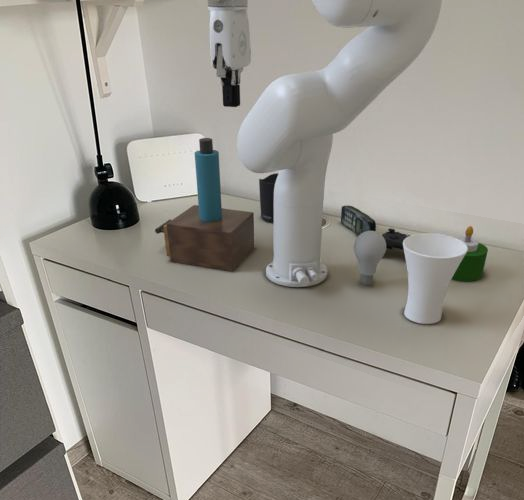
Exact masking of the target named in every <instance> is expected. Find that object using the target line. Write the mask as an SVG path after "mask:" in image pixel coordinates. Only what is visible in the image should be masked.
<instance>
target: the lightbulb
mask: <svg viewBox="0 0 524 500" xmlns="http://www.w3.org/2000/svg"><path fill="white" fill-rule="evenodd" d="M353 252H354V254H355V257H356V259H357V262H358V267H359V282H360V283H361V284H363V285H364V286H368V285H370V284H372V283H373V281H374V276H375V274H376V271H377V268H378V265H379V263H380V261H381V260H382V258H383V257H384V255H385V254H386V252H387V249H386V241H385V239H384V237H383V236H382V234H381V233H380V232H378V231H376V232H375V231H366V232H363V233H361V234H360V235H359V236H358V235H357V237H356V238H355V240H354V243H353Z"/></svg>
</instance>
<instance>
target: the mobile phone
mask: <svg viewBox="0 0 524 500" xmlns="http://www.w3.org/2000/svg"><path fill="white" fill-rule="evenodd" d="M340 211H341V213H340V215H341V216H340V222H341V224H342V225H343V226H345V227H346V228H347V229H349V230H351V231H352V232H353V233H355V234H356V235H357V237H358V236H359V235H360V234H361V233H363V232H366V231H375V232H377V223H376V221H375V220H374V218H372V217H371V216H370V215H368V214H367V213H366V212H363V211H362V210H360V209H359V208H356V207H354V206H353V205H342V206H341V210H340Z"/></svg>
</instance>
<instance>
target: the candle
mask: <svg viewBox="0 0 524 500" xmlns="http://www.w3.org/2000/svg"><path fill="white" fill-rule="evenodd" d="M464 233H465V237H457V239H459V240H461V241H463V242H464V243H465V244H466V245H467V247H468V251H467V253H466V254H465V256H464V258H463V259H462V261H461V263H460V264H459V266H458V268H457V270H456V272H455V273H454V275H453V277H452V279H451V280H453V281H457V282H475V281H478V280H480V279H481V278H482V277H483V273H484V269H485V266H486V260H487V256H488V251H489V249H488V247H487V246H486V245H485V244H483V243H481V242H479V241H478V240H477V239H476V238H472V236H473V234H474V228H473V226H472V225H469V226H468V227H467V228H466V230H465V231H464Z"/></svg>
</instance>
